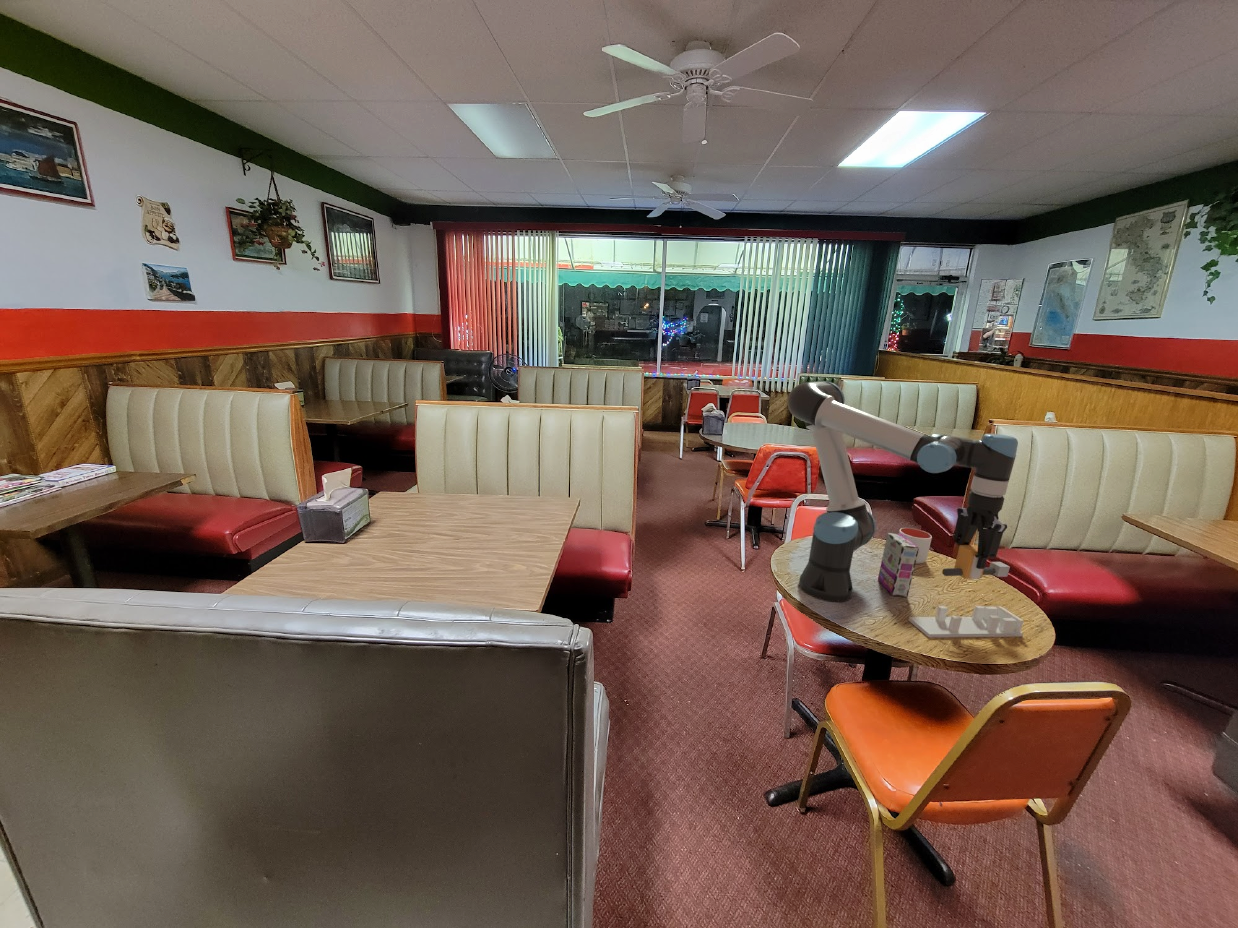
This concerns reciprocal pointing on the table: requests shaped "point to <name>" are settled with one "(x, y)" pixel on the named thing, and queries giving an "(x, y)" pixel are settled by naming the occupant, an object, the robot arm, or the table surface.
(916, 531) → the cup
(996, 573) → the orange block with rod
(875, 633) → the table surface
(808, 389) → the robot arm
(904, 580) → the candy bar box
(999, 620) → the clip rail
